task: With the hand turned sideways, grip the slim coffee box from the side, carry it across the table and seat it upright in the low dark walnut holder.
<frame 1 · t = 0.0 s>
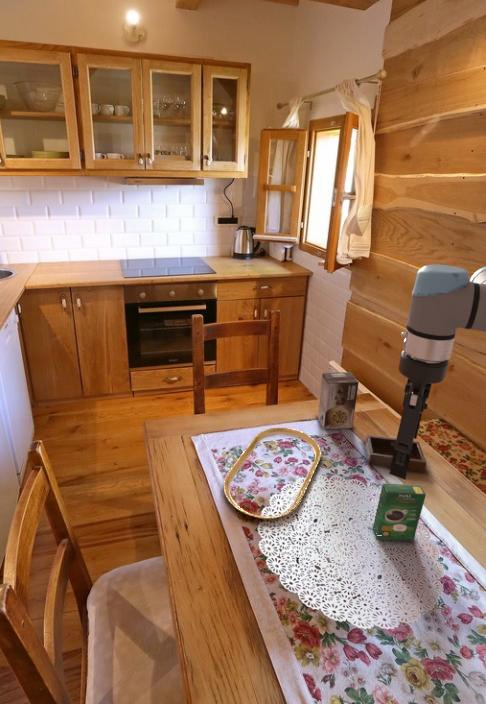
hand: (403, 454, 78), 22 cm above the table, tool pointing down, fingers open, 13 cm apart
coffee box: (334, 424, 124), on the table
oval frame: (274, 471, 105), on the table
coffee box 2: (392, 537, 86), on the table
holder: (393, 458, 109), on the table
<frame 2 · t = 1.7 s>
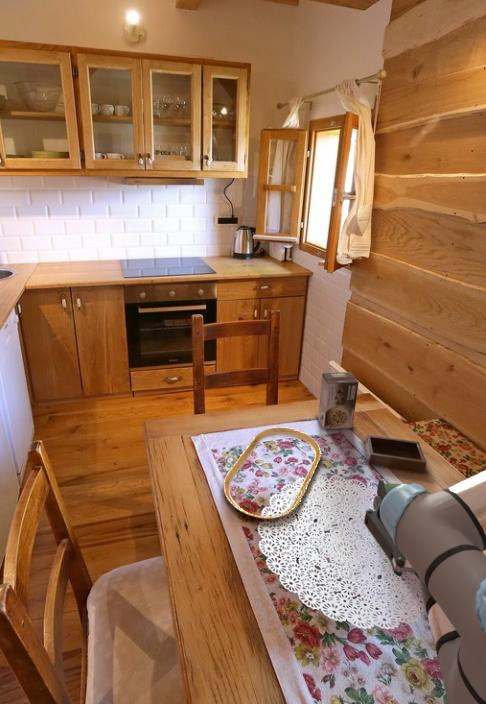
hand: (421, 493, 71), 20 cm above the table, tool horizontal, fingers open, 13 cm apart
nothing on the table moved.
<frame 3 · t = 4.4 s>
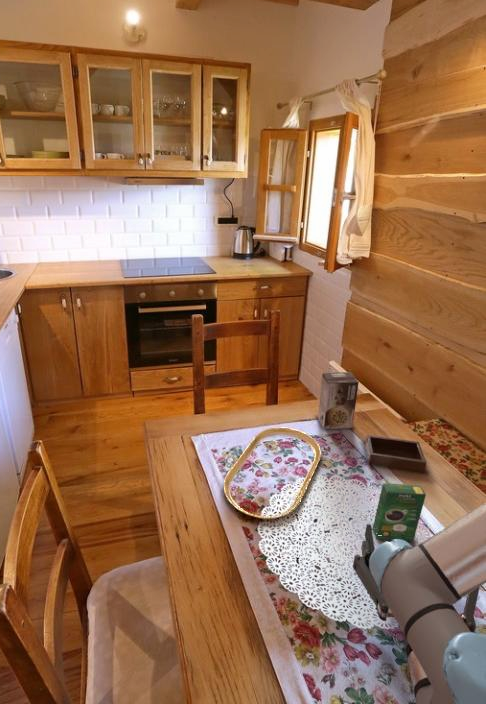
hand: (405, 536, 78), 8 cm above the table, tool horizontal, fingers open, 13 cm apart
nothing on the table moved.
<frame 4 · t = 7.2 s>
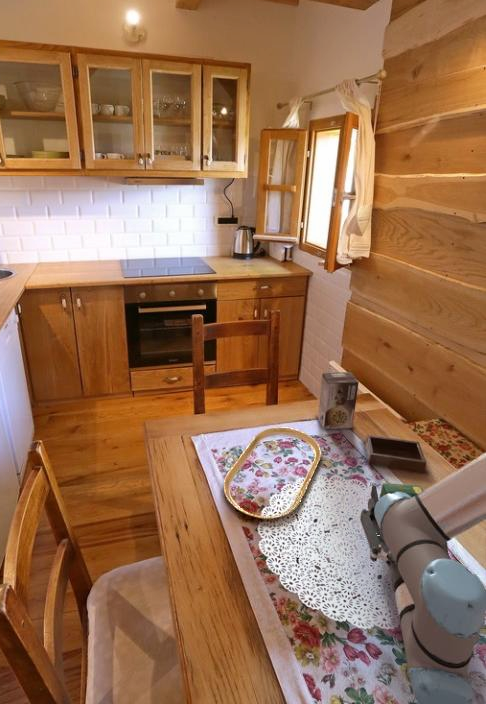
hand: (394, 493, 88), 7 cm above the table, tool horizontal, fingers closed on coffee box 2, 8 cm apart
coffee box 2: (392, 537, 86), on the table, touching gripper
everything else where it was.
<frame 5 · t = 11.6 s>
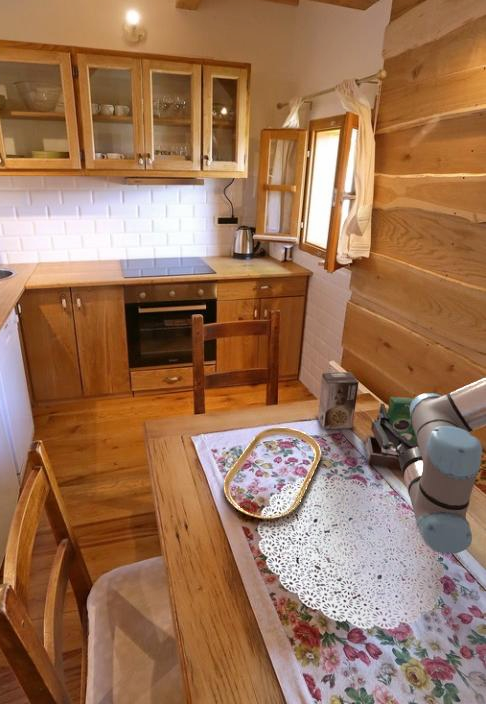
hand: (400, 410, 100), 18 cm above the table, tool horizontal, fingers closed on coffee box 2, 8 cm apart
coffee box 2: (399, 447, 98), point 10 cm above the table, touching gripper
everything else where it was.
when the fingers open (8 cm above the table, at t = 16.1 s): coffee box 2 stays where it is, resting on holder.
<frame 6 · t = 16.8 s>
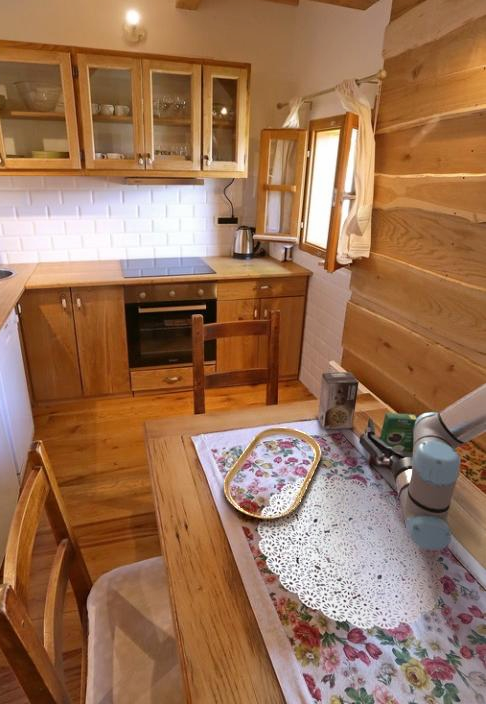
hand: (396, 425, 110), 8 cm above the table, tool horizontal, fingers open, 13 cm apart
coffee box 2: (393, 457, 109), resting on holder
everything else where it was.
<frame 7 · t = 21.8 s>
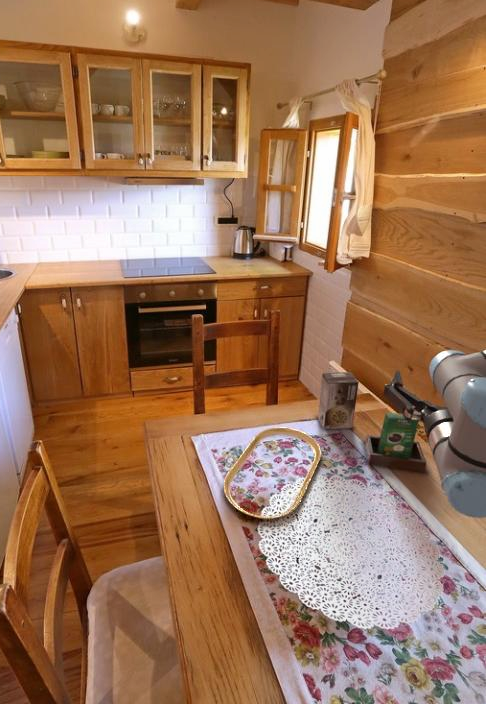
hand: (428, 381, 91), 29 cm above the table, tool horizontal, fingers open, 13 cm apart
nothing on the table moved.
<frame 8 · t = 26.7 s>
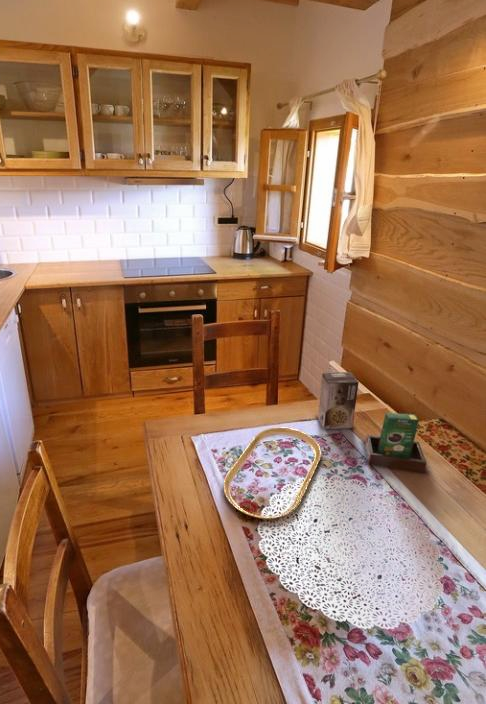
nothing on the table moved.
at the end: coffee box 2 0.0 cm off-centre in the holder, point 0.4 cm above the holder's base; coffee box 2 tilted 0°; the gripper is holding nothing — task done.
